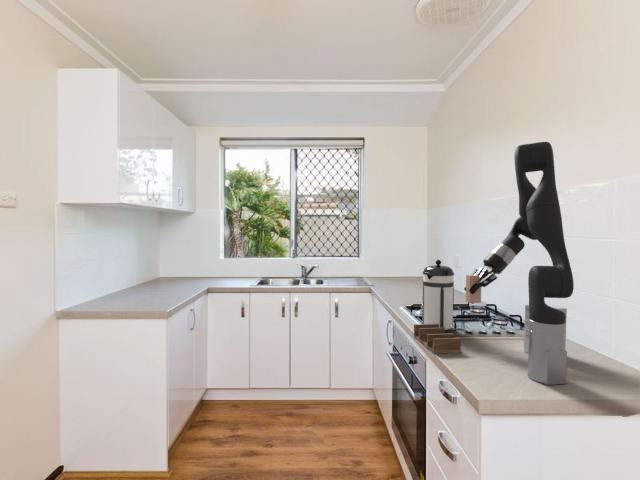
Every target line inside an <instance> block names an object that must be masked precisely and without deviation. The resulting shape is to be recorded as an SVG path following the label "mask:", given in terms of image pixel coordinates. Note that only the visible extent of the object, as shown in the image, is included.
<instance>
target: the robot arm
mask: <svg viewBox="0 0 640 480" xmlns="http://www.w3.org/2000/svg"><path fill="white" fill-rule="evenodd" d="M514 168H515V170H514V171H515V178H516V186H517V191H518V214H519V217H518V218H516V220H515V221H514V223H513V225H512V226H511V229H510V231H509V233H508V235H507V236H506V237H505V238H504V239H503V241H501V243H499V244H498V245H497V246H496V247H495V248H494V249H493V250H491V252H490V253H489V254H488V255H487V256H486V257H485V258H484V259H483V261H482V262H483V266H481V267H480V268H479V269H477V268H474V269H473V271H472V273H471V274H470V275H480V276H479V279H478V280H477V281H476V283H475V284H474V285H473V286H472V287H471V288H470V289H469V290H468V291H469V292H470V293H471V294H474V293H475V292H476V291H477V290H478V289H479V288H481V289H482V288H486V287H487V286H488V285H490V284H492V283H493V282H494V281H496V280H497V279H498V277H497V275H501V274H502V272H504V270H505V269H506V268H507V267H508V266H509V265H510V264H511V263H512V262H513V260H514V259H515V258H516V257H517V256H518V254H519V253H520V252H522V250H523V249H524V248H525V244H526V243H525V241H524V240H523V239H522V238H521V237H520V235H522V236H523V237H525V238H527V239H530V240H532V241H536V240H537V241H538V242H539V243H540V244H541V245H542V247H543V248H545V250H546V252H547V253H548V255H549V258H550V259H551V264H552V265H534V266H532V267H531V268H530V269H529V271H528V278H527V279H528V283H527V284H528V305H529V347H528V353H527V354H528V357H527V361H528V362H527V377H528V378H530V379H531V380H533V381H535V382H537V383H542V384H544V385H545V386H546V385H547V386H550V385H566V384H567V368H568V366H567V363H568V361H567V360H568V351H567V350H566V346H565V322H566V323H567V318H566V315H565V313H564V312H562V311H560V310H558V309H555V308H552V307H550V306H548V305H547V304H548V303H546V301H545V298H547V299H548V298H550V299H551V298H552V299H568V298H570V297H571V296H572V295H573V293H574V276H573V272H572V266H571V264H570V259H569V256H568V252H567V246H566V242H565V235H564V228H563V227H564V226H563V219H562V217H563V216H562V211H561V207H560V200H559V196H558V190H557V189H558V188H557V185H556V183H557V182H556V172H555V171H556V169H555V159H554V150H553V146H552V144H551V143H550V142H549V141H540V142H533V143H532V142H531V143H525V144H520V145H517V146H516V148H515V150H514ZM533 172H542V176H541V178H540V182H539V184H538V186H537V187H536V186H534V185H533V184H532V182H531V181H530V180H529V179H528V177H527V174H526V173H533ZM463 290H464V291H465V292H466V286H465V287H464V288H463Z"/></svg>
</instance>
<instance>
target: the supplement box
mask: <svg viewBox="0 0 640 480" xmlns="http://www.w3.org/2000/svg"><path fill="white" fill-rule="evenodd" d="M546 304H547V305H548V306H550V307H552V308H555V309H558V310H560V311H562V312H564V313H565V315H566V319H567V316H568V315H567V313H568V309H567V308H566V307H562V306H557V305H554V304H548V303H546ZM523 335H524V336H523V337H524V338H523V340H524V341H523V344H524V345H523V352H525V353H526V354H528V347H529V304H526V305H525V306H524V334H523ZM566 338H567V321H566V322H565V347H566V346H567V345H566V344H567V343H566V340H567V339H566Z"/></svg>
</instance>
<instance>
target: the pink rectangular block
mask: <svg viewBox="0 0 640 480" xmlns="http://www.w3.org/2000/svg"><path fill="white" fill-rule="evenodd" d="M479 276H480V275H471V274H466V275H465V287H466V291H465V302H467V303H469V304H477V303H479V304H480V303H482V287H481V288H479V289H478V290H477V291H476V292H475V293H474V294H471V293H470V292H469V291H468V290H469V289H470V288H471V287H472V286H473V285H474V284H475V283H476V281H477V280H478V279H479Z"/></svg>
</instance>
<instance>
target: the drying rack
mask: <svg viewBox="0 0 640 480" xmlns="http://www.w3.org/2000/svg"><path fill="white" fill-rule="evenodd" d="M413 338H414V339H415V340H417V341H418V342H419V343H420V344H422V346H424V347H425V348H426V349H428V351H430V352H431V353H432V354H455V353H456V354H457V353H459V354H460V353H461V352H462V338H461V337H455V334H454V333H452V332H451V333H450V332H449V333H446V330H445V328H444V327H442V328H439V324H422V323H421V324H420V323H418V324H413Z"/></svg>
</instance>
